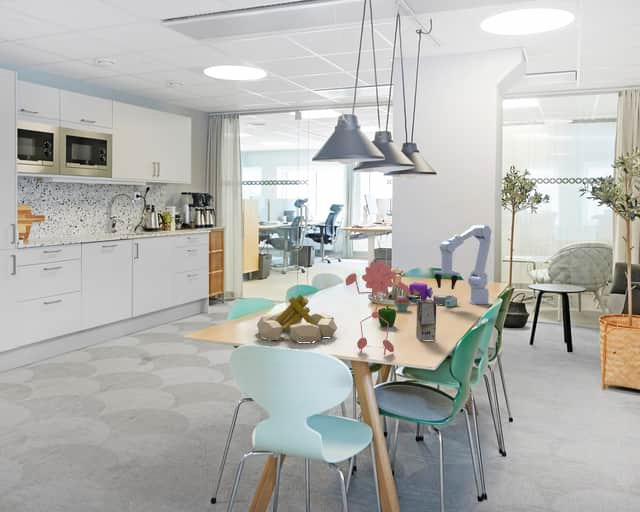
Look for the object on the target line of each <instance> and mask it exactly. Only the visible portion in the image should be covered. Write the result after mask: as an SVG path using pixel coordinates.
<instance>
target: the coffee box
mask: <svg viewBox="0 0 640 512" xmlns="http://www.w3.org/2000/svg"><path fill="white" fill-rule="evenodd" d="M436 323H437V305H436V303H435V302H433V300H432V299H426V300H417V301H416V332H415V333H416V334H415V336H417V337H418V338H419V339H420V340H435V341H436V330H437V326H436V325H437V324H436ZM417 337H416V338H417ZM418 338H417V339H418ZM419 339H418V340H419ZM420 340H419V341H420Z"/></svg>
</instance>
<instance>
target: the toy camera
mask: <svg viewBox="0 0 640 512" xmlns="http://www.w3.org/2000/svg"><path fill="white" fill-rule="evenodd" d="M408 289H409V290H410V294H411V295H415V296H421V300H428V299H427V298H429V299H431V298H432V296H433V294H434V292H433V289H432V287H429V288H428V284H427V283H421V282H417V281H413V283H410V284H409V286H408Z"/></svg>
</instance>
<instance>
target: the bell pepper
mask: <svg viewBox="0 0 640 512" xmlns="http://www.w3.org/2000/svg"><path fill="white" fill-rule="evenodd" d="M389 306H390V305H389V303H387V304H386V308H385V307H382V308H379V309H378V310H377V312H378V314H379V316H380V317H381V318H383V319H384V320H385V321H386V322H388V323H386V322H385V321H384V320H382V319H381V318H380V317H378V318H377V319H378V323H379V325H380V326H381V325H382V326H381V327H385V326H386V327H388V324H389V326H390V327H393V326H394V325H395V323H396V318H397V310H396V309H395V308H391V307H389Z"/></svg>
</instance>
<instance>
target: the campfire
mask: <svg viewBox="0 0 640 512" xmlns="http://www.w3.org/2000/svg"><path fill="white" fill-rule="evenodd" d="M288 302H289V305H288V306H287V307H286V308H285V310H283V311H280V312H278V313H276V314H271V313H270V314H269V313H268V314H267V313H266V314H263V315H261V317H260V319H259V320H258V322H257V323H256V326H257V332H258V333H259V335H260V337H261V338H262V337H263V338H266V339H268V340H276V341H279V340H280V338H281V336H282V334H283V333H287V332H288V331H290V338H291V339H292V340H293V341H295V342H296V341H298V342H313V341H316V342H318V341H319V340H321V339H322V338H321V337H331V336H332V335H333V336H334V334H335V332H336V331H337V329H338V326H337V325H336V323H335V321H334V320H335V317H334V316H332V315H331V314H329V313H327V312H318V313H317V312H316V313H313V314H311V315H310V314H309V312H310V311H311V309H310V307H308V306H307V305H308V304H309V302H310V301H309V300H308V299H307V298H305V297H303V295H301V294H299V295H298V296H297V297H296V298H295V296H293V297H291V298H290V299H289V300H288ZM303 319H304V321H305V322H302V320H303ZM333 336H332V337H333ZM332 337H331V338H332ZM268 340H267V341H268ZM317 340H318V341H317ZM298 342H297V343H298Z"/></svg>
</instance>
